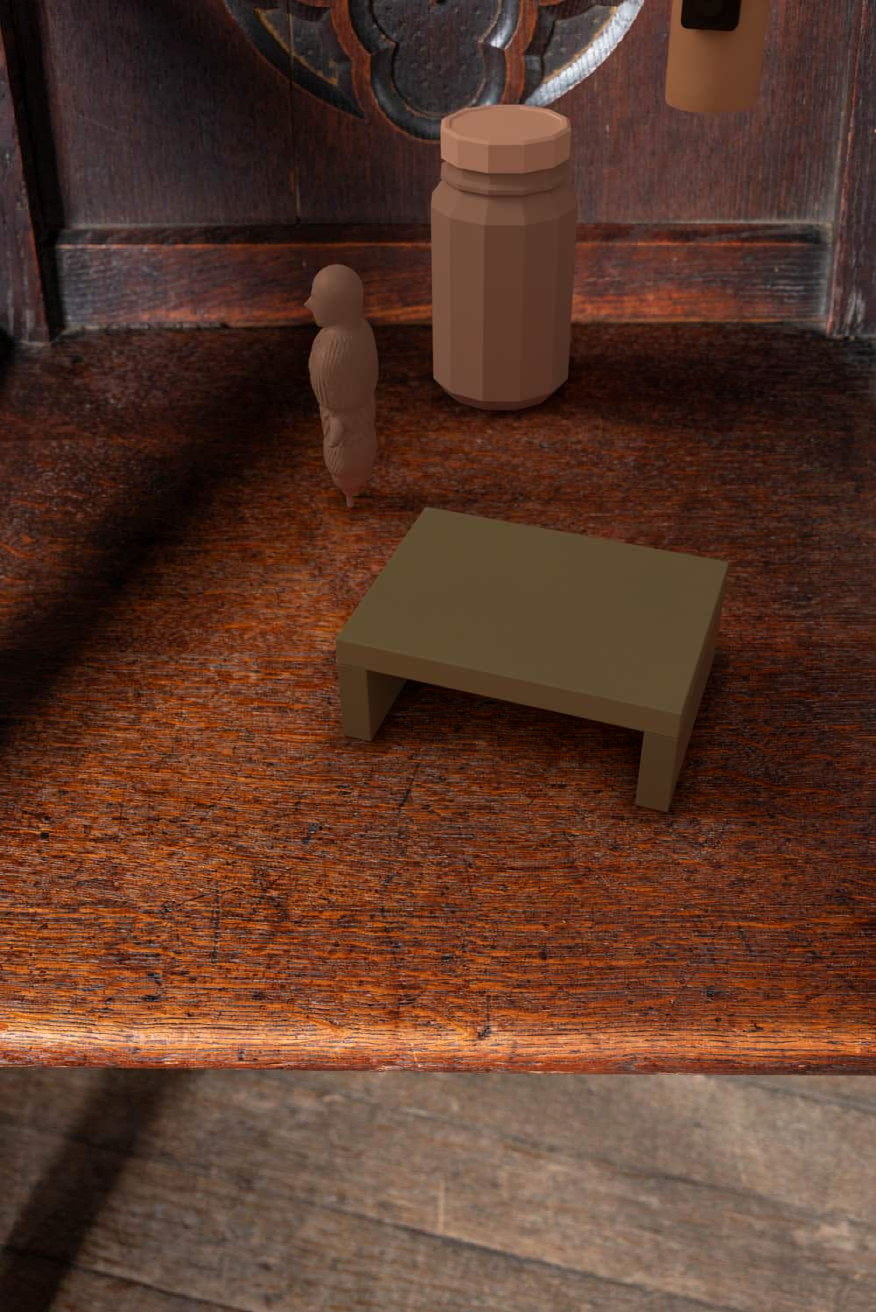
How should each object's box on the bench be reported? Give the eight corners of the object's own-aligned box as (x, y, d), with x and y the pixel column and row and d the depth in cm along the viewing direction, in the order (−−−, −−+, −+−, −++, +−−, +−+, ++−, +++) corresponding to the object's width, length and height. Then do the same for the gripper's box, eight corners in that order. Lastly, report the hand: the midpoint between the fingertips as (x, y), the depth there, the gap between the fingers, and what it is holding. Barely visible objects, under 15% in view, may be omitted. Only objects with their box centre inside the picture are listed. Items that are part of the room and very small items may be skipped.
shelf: (714, 656, 66) (729, 561, 62) (667, 813, 57) (681, 713, 53) (427, 597, 70) (425, 505, 66) (342, 735, 61) (334, 638, 57)
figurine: (340, 460, 82) (323, 233, 73) (399, 466, 81) (390, 237, 72) (298, 539, 75) (274, 298, 65) (362, 546, 74) (347, 303, 65)
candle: (723, 121, 73) (745, -76, 67) (645, 104, 76) (660, -86, 70) (773, 100, 76) (800, -90, 70) (697, 84, 79) (716, -99, 73)
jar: (586, 407, 87) (605, 138, 76) (449, 424, 86) (448, 152, 74) (545, 348, 95) (556, 95, 83) (418, 362, 93) (413, 106, 82)
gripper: (817, -392, 55) (759, 57, 66) (860, -388, 67) (806, -11, 78) (647, -386, 57) (620, 48, 68) (720, -383, 69) (686, -17, 80)
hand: (720, 13), depth 73 cm, fingers closed on candle, 5 cm apart
